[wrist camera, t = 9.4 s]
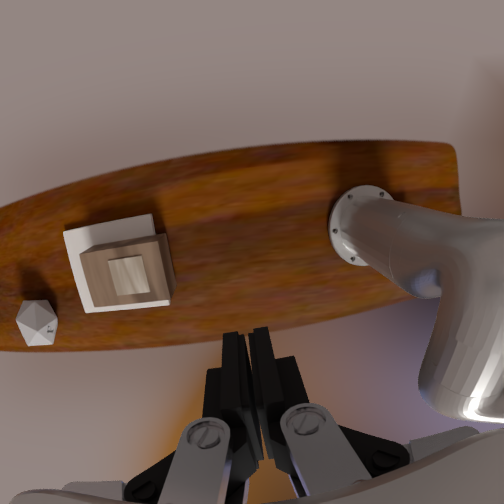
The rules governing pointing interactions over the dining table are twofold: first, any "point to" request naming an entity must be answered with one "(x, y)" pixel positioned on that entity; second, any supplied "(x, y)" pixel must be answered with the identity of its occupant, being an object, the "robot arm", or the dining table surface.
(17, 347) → the dining table surface
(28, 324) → the die
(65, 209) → the dining table surface
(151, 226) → the board
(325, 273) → the dining table surface
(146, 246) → the walnut block
